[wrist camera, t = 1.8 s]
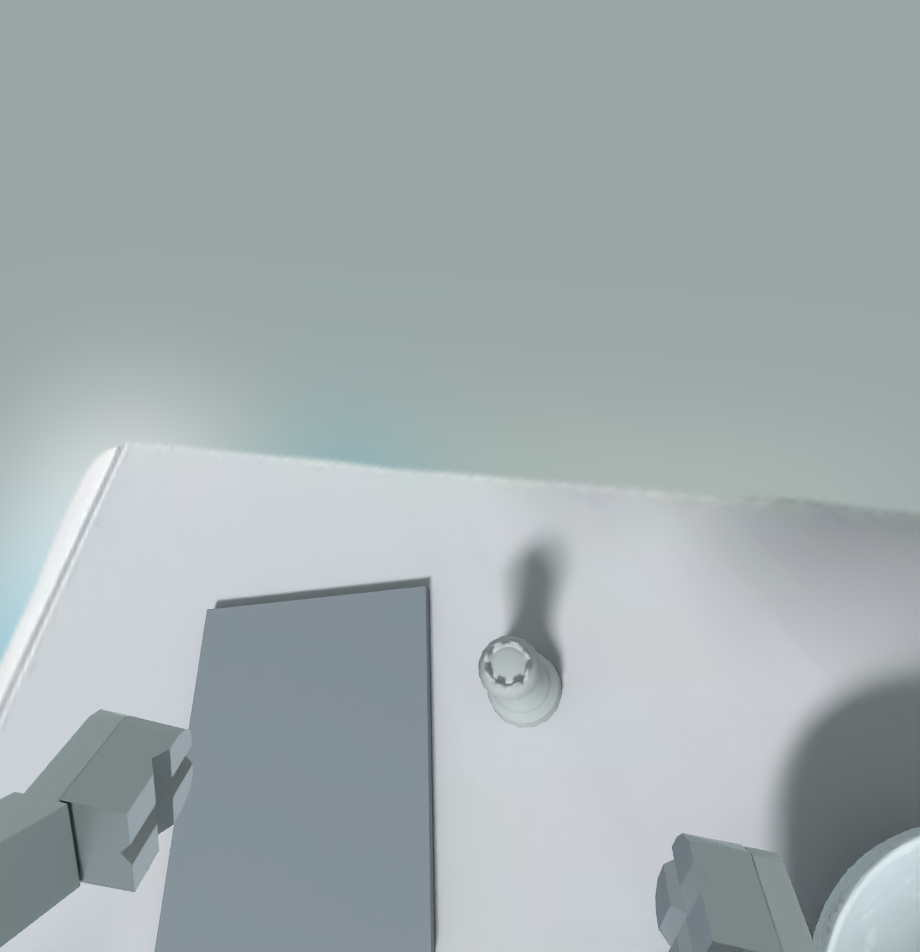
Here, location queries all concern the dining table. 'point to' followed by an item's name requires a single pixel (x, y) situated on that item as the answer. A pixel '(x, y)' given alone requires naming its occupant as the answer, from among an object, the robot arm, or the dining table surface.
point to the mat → (308, 781)
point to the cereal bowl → (876, 901)
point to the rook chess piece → (519, 681)
